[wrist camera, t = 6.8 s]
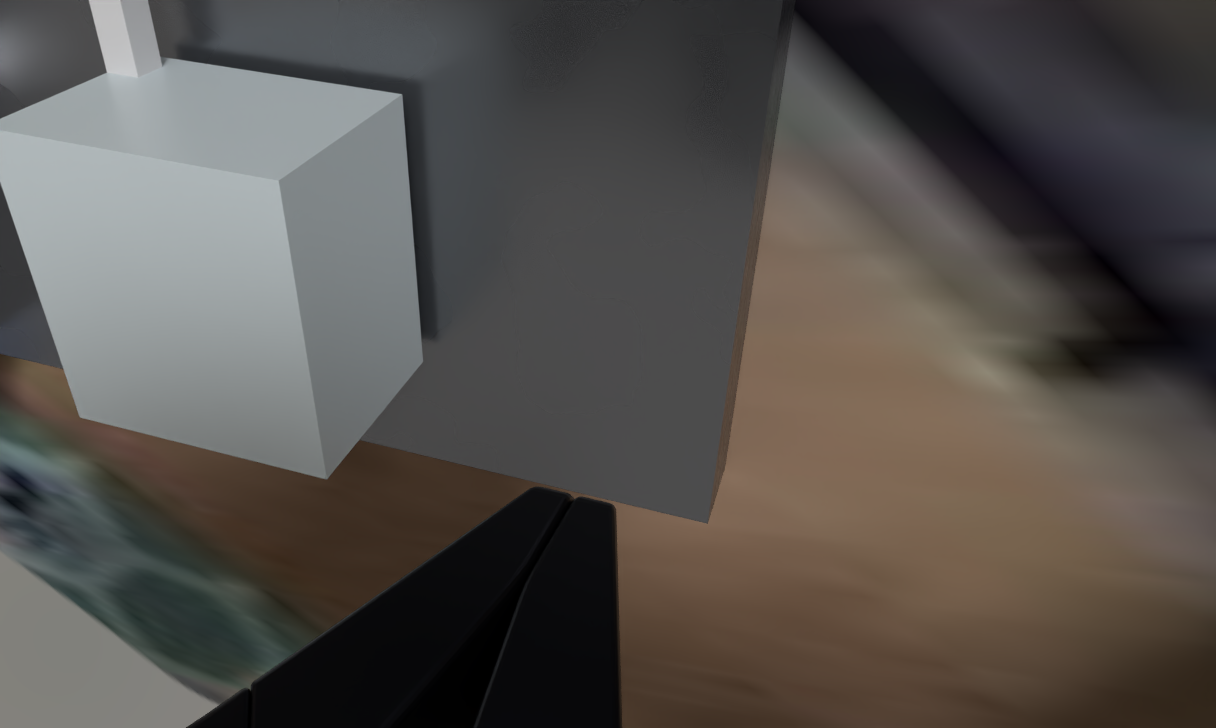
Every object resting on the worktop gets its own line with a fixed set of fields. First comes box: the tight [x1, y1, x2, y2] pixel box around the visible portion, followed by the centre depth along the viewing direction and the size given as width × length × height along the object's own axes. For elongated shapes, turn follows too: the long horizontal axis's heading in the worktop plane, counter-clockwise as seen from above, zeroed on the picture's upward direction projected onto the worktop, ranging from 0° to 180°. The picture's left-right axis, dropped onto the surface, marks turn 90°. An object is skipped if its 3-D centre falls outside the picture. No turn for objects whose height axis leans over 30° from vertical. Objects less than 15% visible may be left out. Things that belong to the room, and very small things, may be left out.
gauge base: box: [0, 0, 795, 524], centre depth 14 cm, size 17×10×5 cm, turn 88°
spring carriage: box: [0, 0, 423, 479], centre depth 13 cm, size 4×7×3 cm, turn 178°
